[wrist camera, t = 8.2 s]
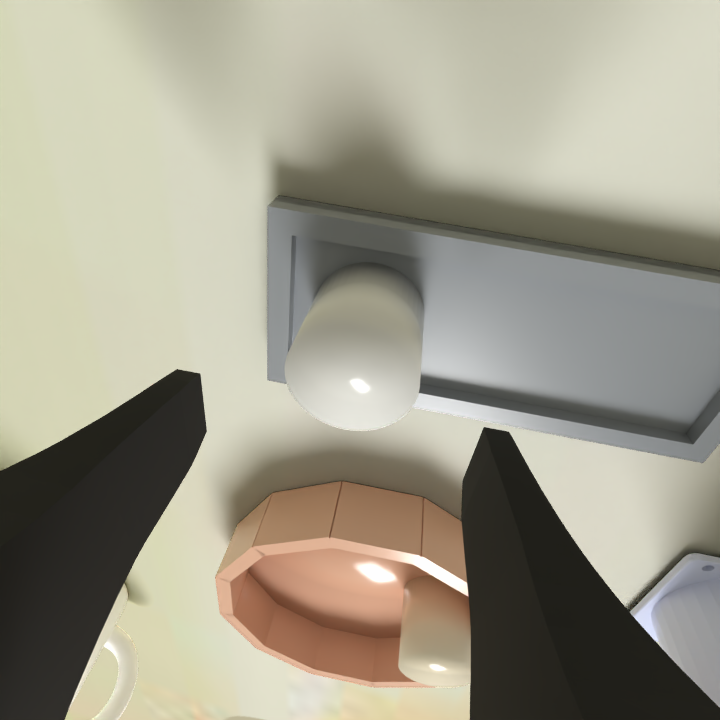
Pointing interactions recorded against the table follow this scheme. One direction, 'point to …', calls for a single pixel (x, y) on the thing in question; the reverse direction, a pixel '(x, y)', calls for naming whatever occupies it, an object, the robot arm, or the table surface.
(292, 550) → the bowl
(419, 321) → the pale grey cylinder
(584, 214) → the table surface
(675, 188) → the table surface
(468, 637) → the cream marshmallow
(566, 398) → the parts tray
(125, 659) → the mug
